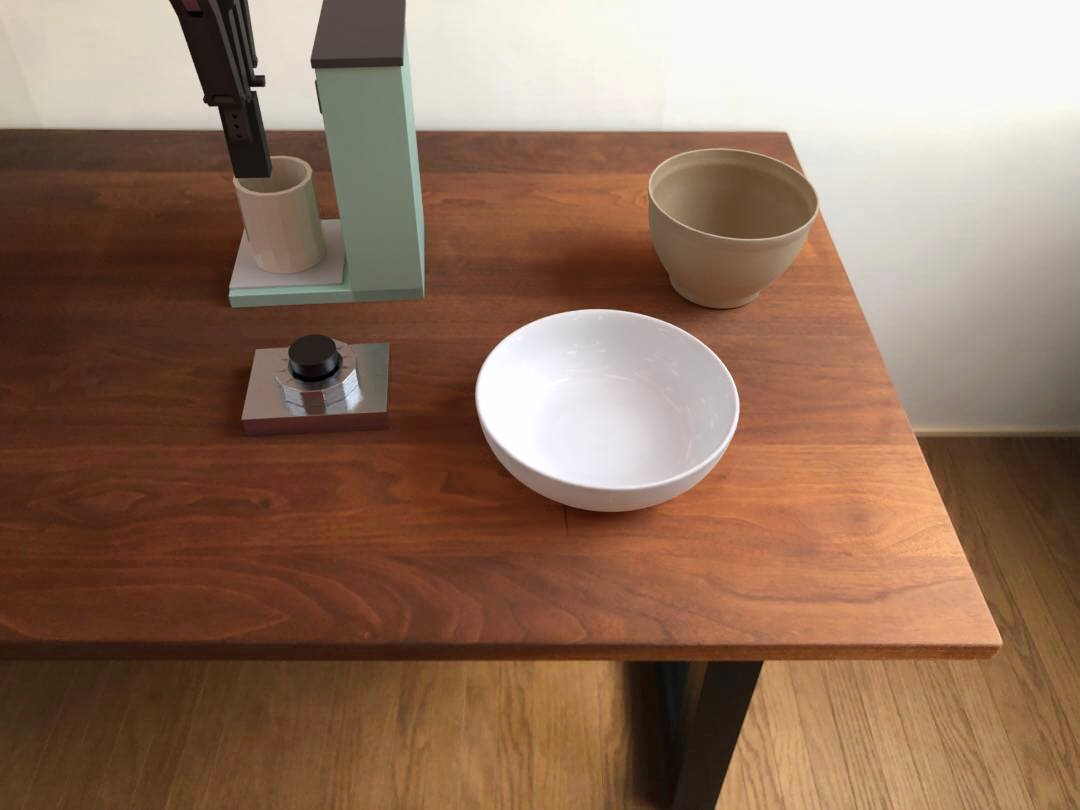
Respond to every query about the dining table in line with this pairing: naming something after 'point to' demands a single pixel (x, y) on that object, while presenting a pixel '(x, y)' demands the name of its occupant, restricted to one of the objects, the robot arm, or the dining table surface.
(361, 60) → the coffee maker
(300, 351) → the button
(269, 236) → the cup
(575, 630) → the dining table surface
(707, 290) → the planter bowl
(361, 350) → the button block
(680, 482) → the serving bowl
